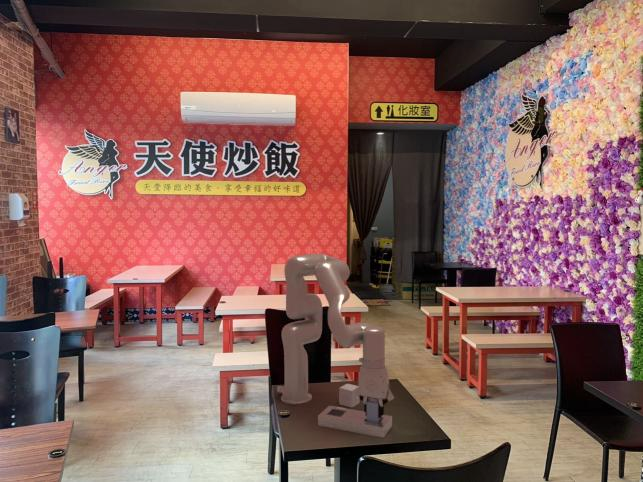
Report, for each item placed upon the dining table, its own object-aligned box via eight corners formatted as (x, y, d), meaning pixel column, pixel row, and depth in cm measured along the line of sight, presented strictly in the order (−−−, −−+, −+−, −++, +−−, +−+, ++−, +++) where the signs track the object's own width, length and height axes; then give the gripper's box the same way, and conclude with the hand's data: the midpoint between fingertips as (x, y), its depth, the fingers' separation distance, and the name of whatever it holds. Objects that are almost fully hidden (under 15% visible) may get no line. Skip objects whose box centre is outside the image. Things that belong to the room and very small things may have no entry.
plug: (366, 427, 161) (366, 400, 160) (370, 422, 165) (370, 396, 164) (378, 429, 159) (377, 402, 159) (381, 424, 163) (381, 398, 162)
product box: (347, 401, 189) (347, 383, 189) (360, 404, 186) (360, 386, 186) (338, 405, 184) (338, 387, 184) (351, 409, 181) (351, 390, 181)
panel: (318, 426, 165) (317, 415, 165) (329, 416, 175) (329, 405, 174) (383, 439, 155) (383, 427, 155) (392, 427, 165) (392, 415, 164)
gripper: (347, 363, 161) (347, 415, 162) (394, 369, 154) (394, 423, 155) (354, 357, 168) (355, 407, 169) (400, 362, 161) (400, 415, 162)
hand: (374, 414), depth 162 cm, fingers closed on plug, 4 cm apart
